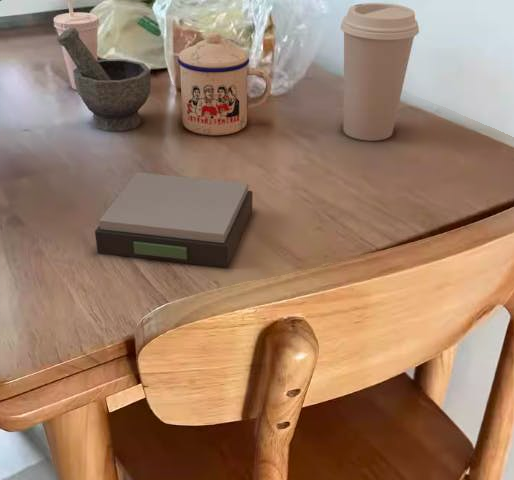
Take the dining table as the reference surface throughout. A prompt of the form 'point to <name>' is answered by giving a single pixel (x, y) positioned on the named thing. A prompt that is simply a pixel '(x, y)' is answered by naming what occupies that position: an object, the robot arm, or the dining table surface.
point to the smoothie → (87, 33)
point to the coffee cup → (375, 66)
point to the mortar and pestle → (108, 85)
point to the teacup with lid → (216, 86)
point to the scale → (176, 220)
